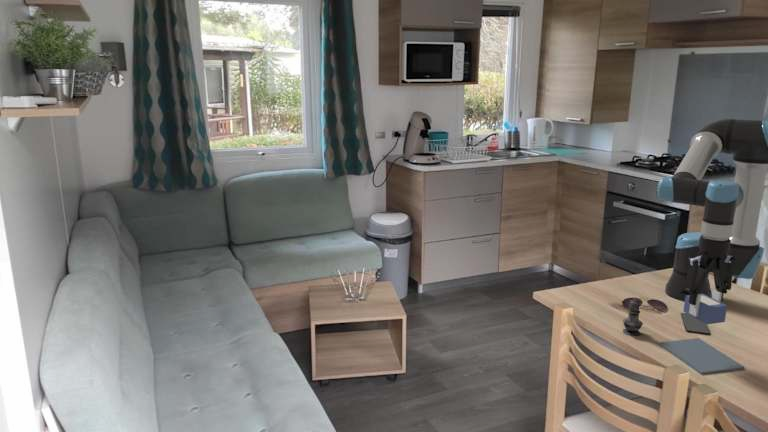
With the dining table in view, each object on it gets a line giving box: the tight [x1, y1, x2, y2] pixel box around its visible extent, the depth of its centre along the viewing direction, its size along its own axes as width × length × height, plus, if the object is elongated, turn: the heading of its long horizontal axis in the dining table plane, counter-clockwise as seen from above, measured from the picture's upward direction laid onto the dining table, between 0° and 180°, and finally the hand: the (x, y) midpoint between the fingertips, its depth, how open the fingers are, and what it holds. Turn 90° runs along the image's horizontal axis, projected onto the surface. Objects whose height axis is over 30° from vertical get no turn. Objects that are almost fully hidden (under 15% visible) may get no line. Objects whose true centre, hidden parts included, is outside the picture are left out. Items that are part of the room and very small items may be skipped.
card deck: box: [682, 294, 728, 325], centre depth 168 cm, size 9×6×5 cm, turn 15°
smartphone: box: [680, 312, 711, 336], centre depth 192 cm, size 7×1×15 cm
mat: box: [658, 337, 745, 375], centre depth 171 cm, size 14×18×1 cm
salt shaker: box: [622, 297, 644, 337], centre depth 185 cm, size 6×6×12 cm
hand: (703, 313), depth 168 cm, fingers closed on card deck, 6 cm apart
